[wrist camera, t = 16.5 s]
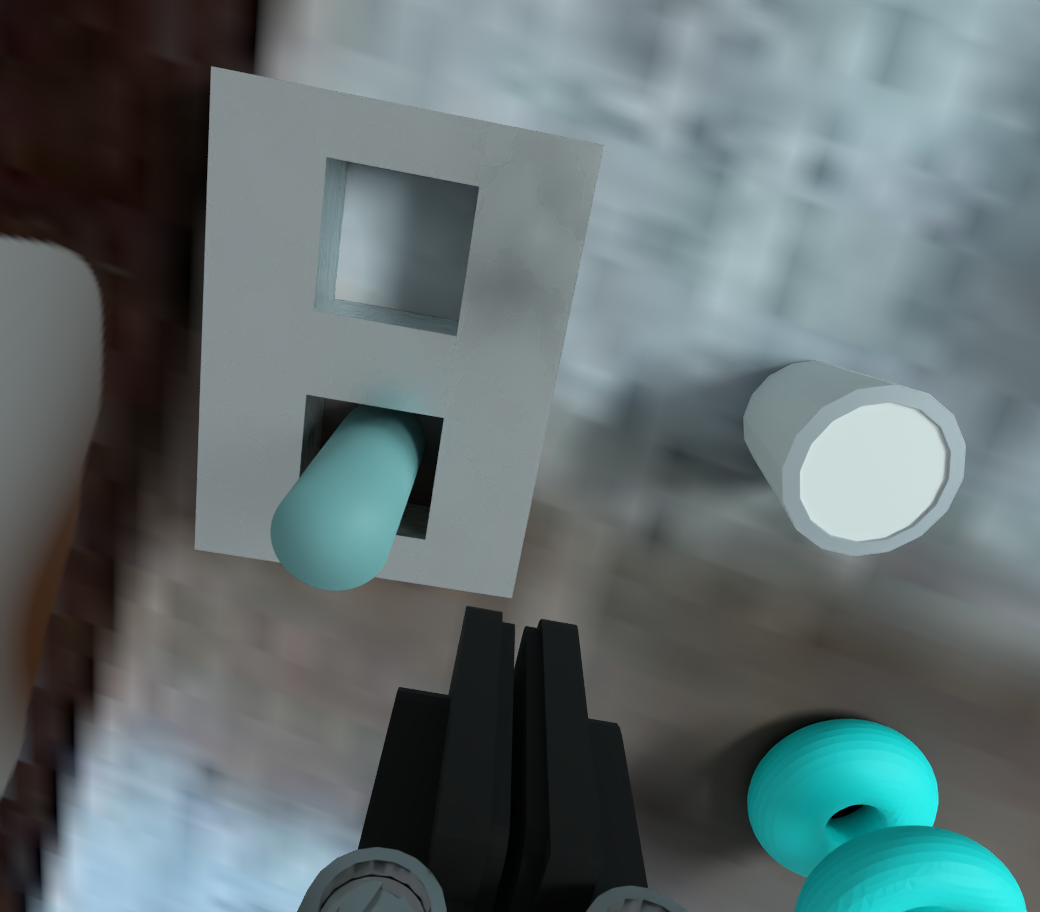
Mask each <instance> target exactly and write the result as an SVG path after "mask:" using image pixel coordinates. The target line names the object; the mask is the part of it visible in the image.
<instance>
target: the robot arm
mask: <svg viewBox="0 0 1040 912" xmlns="http://www.w3.org/2000/svg"><path fill="white" fill-rule="evenodd" d="M514 645H515V624H511V623H505V622H502V612H499V611H493V610H488V609H482V608H476V607H471V606H467V607H466V611H465V616H464V621H463V625H462V630H461V635H460V640H459V645H458V650H457V655H456V660H455V665H454V670H453V675H452V680H451V685H450V690H449V695H444V694H438V693H432V692H426V691H420V690H414V689H408V688H402V687H399V688H398V691H397V695H396V698H395V703H394V707H393V711H392V715H391V719H390V723H389V727H388V731H387V735H386V739H385V743H384V747H383V751H382V755H381V759H380V763H379V767H378V771H377V775H376V779H375V783H374V787H373V791H372V795H371V799H370V803H369V807H368V811H367V815H366V819H365V823H364V827H363V831H362V835H361V839H360V843H359V847H358V850H355V851H353V852H350V853H348V854H346V855H343V856H341V857H339V858H336V859H335V860H334V861H333V862H332V863H330V864H329V865H328V866H327V867H325V868H324V869H323V870H322V871H320V873H319V874H318V875H317V877H316V878H315V880H314V881H313V883H312V884H311V886H310V887H309V889H308V890H307V892H306V894H305V896H304V899H303V901H302V903H301V905H300V907H299V909H298V911H297V912H688V911H687V910H686V909H684V908H683V907H682V906H680V905H679V904H678V903H676V902H675V901H674V900H673V899H671V898H670V897H668V896H666V895H663V894H661V893H659V892H657V891H654V890H652V889H650V888H648V886H647V880H646V874H645V868H644V862H643V856H642V851H641V845H640V839H639V833H638V827H637V821H636V815H635V809H634V804H633V798H632V792H631V786H630V780H629V774H628V768H627V763H626V757H625V751H624V745H623V739H622V734H621V730H620V727H619V726H618V724H617V723H612V722H606V721H600V720H594V719H588V713H587V705H586V696H585V687H584V678H583V669H582V661H581V652H580V643H579V634H578V628H577V626H576V625H573V624H568V623H562V622H556V621H551V620H545V619H541V620H540V621H539V624H538V627H537V628H534V627H528V626H525V628H524V631H523V635H522V639H521V643H520V647H519V651H518V656H517V660H516V664H515V668H514Z"/></svg>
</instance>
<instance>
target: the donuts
mask: <svg viewBox="0 0 1040 912" xmlns="http://www.w3.org/2000/svg"><path fill="white" fill-rule="evenodd" d="M860 804H864V805H863V806H862V807H861V808H859V809H858V810H856V811H855V812H853V813H851V814H849V815H846V816H843V817H840V818H835V819H830V818H831V817H832V816H833V815H834V814H835V813H836V812H838V811H840V810H842V809H844V808H846V807H849V806H852V805H860ZM747 806H748V816H749V820H750V823H751V826H752V829H753V832H754V834H755V836H756V838H757V839H758V841H759V842H760V844H761V845H762V847H763V848H764V849H765V851H766V852H767V853H768V854H769V855H770V856H771V857H773V858H774V859H775V860H776V861H777V862H778V863H780V864H781V865H782V866H784V867H786V868H787V869H789V870H791V871H793V872H795V873H797V874H799V875H802V876H805V877H807V879H806V881H805V883H804V885H803V887H802V889H801V892H800V894H799V897H798V900H797V903H796V908H795V912H1026V905H1025V901H1024V898H1023V895H1022V893H1021V890H1020V888H1019V886H1018V884H1017V882H1016V880H1015V879H1014V877H1013V876H1012V874H1011V873H1010V871H1009V870H1008V869H1007V867H1006V866H1005V865H1004V864H1003V863H1002V862H1001V861H1000V860H999V859H998V858H997V857H996V856H995V855H994V854H993V853H991V852H990V851H989V850H988V849H986V848H985V847H983V846H982V845H980V844H978V843H977V842H975V841H973V840H971V839H970V838H968V837H965V836H963V835H960V834H958V833H955V832H952V831H948V830H945V829H941V828H937V827H932V826H933V824H934V821H935V817H936V813H937V808H938V789H937V782H936V778H935V775H934V773H933V770H932V768H931V766H930V764H929V762H928V760H927V759H926V757H925V756H924V755H923V753H922V752H921V751H920V750H919V748H918V747H917V746H916V745H915V744H914V743H913V742H911V741H910V740H909V739H907V738H906V737H905V736H903V735H902V734H901V733H899V732H897V731H895V730H894V729H891V728H889V727H887V726H884V725H881V724H879V723H875V722H871V721H867V720H860V719H835V720H828V721H823V722H819V723H815V724H812V725H809V726H806V727H804V728H801V729H799V730H797V731H795V732H793V733H792V734H790V735H788V736H787V737H785V738H784V739H782V740H781V741H780V742H778V743H777V744H776V745H775V746H774V747H773V748H772V749H770V750H769V752H768V753H767V754H766V755H765V756H764V757H763V759H762V760H761V761H760V763H759V764H758V766H757V768H756V770H755V772H754V774H753V776H752V779H751V782H750V786H749V790H748V796H747Z"/></svg>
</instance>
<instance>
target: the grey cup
mask: <svg viewBox="0 0 1040 912" xmlns="http://www.w3.org/2000/svg"><path fill="white" fill-rule="evenodd" d="M743 428H744V441H745V443H746V445H747V447H748V449H749V451H750V453H751V455H752V457H753V459H754V460H755V462H756V463H757V465H758V467H759V468H760V470H761V472H762V473H763V475H764V477H765V478H766V480H767V482H768V483H769V485H770V487H771V488H772V490H773V492H774V493H775V495H776V497H777V498H778V500H779V502H780V503H781V505H782V506H783V508H784V510H785V511H786V513H787V515H788V516H789V518H790V520H791V521H792V523H793V525H794V526H795V528H796V530H798V531H799V532H800V533H802V534H803V535H804V536H805V537H807V538H808V539H809V540H811V541H812V542H813V543H815V544H816V545H817V546H819V547H820V548H821V549H825V550H829V551H834V552H838V553H842V554H846V555H850V556H859V555H867V554H875V553H884V552H889V551H891V550H893V549H895V548H897V547H899V546H901V545H903V544H906V543H908V542H910V541H912V540H914V539H916V538H918V537H920V536H921V535H923V534H924V533H925V532H926V531H927V530H928V529H929V528H930V527H931V526H932V525H933V524H934V523H935V522H936V521H937V520H938V519H939V518H940V517H941V516H942V515H943V514H944V513H945V512H946V511H947V510H948V508H949V506H950V504H951V502H952V500H953V498H954V496H955V494H956V492H957V491H958V489H959V487H960V485H961V483H962V481H963V476H964V464H965V451H966V444H965V442H964V439H963V437H962V434H961V432H960V429H959V427H958V424H957V421H956V419H955V416H954V415H953V414H952V413H951V412H950V411H949V410H947V409H946V408H945V407H944V406H943V405H942V404H940V403H939V402H938V401H937V400H936V399H935V398H934V397H932V396H931V395H930V394H929V393H925V392H922V391H919V390H915V389H912V388H908V387H905V386H902V385H898V384H895V383H892V382H888V381H885V380H882V379H878V378H875V377H872V376H868V375H865V374H861V373H858V372H855V371H851V370H848V369H845V368H841V367H838V366H834V365H830V364H827V363H823V362H819V361H816V360H815V361H808V362H800V363H793V364H790V365H788V366H786V367H784V368H782V369H780V370H778V371H777V372H775V373H773V374H771V375H769V376H768V377H767V378H766V379H765V380H764V381H763V383H762V384H761V385H760V386H759V387H758V388H757V389H756V390H755V391H754V393H753V394H752V395H751V398H750V400H749V403H748V406H747V408H746V411H745V413H744V416H743Z"/></svg>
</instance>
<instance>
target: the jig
mask: <svg viewBox="0 0 1040 912" xmlns="http://www.w3.org/2000/svg"><path fill="white" fill-rule="evenodd" d="M603 147H604V145H602V144H597V143H592V142H587V141H582V140H577V139H572V138H567V137H562V136H557V135H552V134H547V133H542V132H537V131H532V130H527V129H522V128H517V127H512V126H507V125H502V124H497V123H492V122H487V121H482V120H477V119H472V118H467V117H462V116H457V115H452V114H447V113H442V112H437V111H432V110H427V109H422V108H417V107H412V106H407V105H402V104H397V103H392V102H387V101H382V100H377V99H372V98H367V97H362V96H357V95H352V94H347V93H342V92H337V91H332V90H327V89H322V88H317V87H312V86H307V85H302V84H297V83H292V82H287V81H282V80H277V79H272V78H267V77H262V76H257V75H252V74H247V73H242V72H237V71H232V70H227V69H222V68H217V67H212V66H211V86H210V115H209V144H208V174H207V203H206V232H205V261H204V290H203V320H202V349H201V378H200V407H199V436H198V465H197V495H196V524H195V549H196V550H202V551H209V552H215V553H222V554H228V555H235V556H241V557H248V558H254V559H261V560H267V561H274V562H280V561H279V560H278V558H277V556H276V554H275V552H274V549H273V546H272V543H271V536H270V529H271V522H272V518H273V515H274V513H275V511H276V509H277V507H278V506H279V504H280V503H281V502H282V500H283V499H284V498H285V496H286V495H287V494H288V492H289V491H290V490H291V488H292V487H293V486H294V484H295V483H296V482H297V481H298V479H299V478H300V477H301V475H302V474H303V473H304V471H305V470H306V469H307V467H308V466H309V465H310V463H311V462H312V461H313V459H314V458H315V457H316V455H317V454H318V453H319V452H320V446H321V435H322V424H323V414H324V403H325V398H330V399H335V400H341V401H347V402H353V403H359V404H365V405H371V406H377V407H382V408H388V409H394V410H400V411H406V412H412V413H418V414H423V415H429V416H435V417H441V418H444V421H443V428H442V434H441V441H440V448H439V454H438V461H437V467H436V474H435V480H434V487H433V493H432V500H431V506H430V507H429V506H423V505H417V504H411V503H407V504H406V507H405V510H404V512H403V515H402V518H401V521H400V524H399V527H398V530H397V533H396V536H395V538H394V541H393V544H392V547H391V550H390V553H389V556H388V558H387V561H386V563H385V565H384V566H383V568H382V569H381V570H380V572H379V573H378V574H377V575H376V576H375V577H378V578H384V579H391V580H397V581H404V582H410V583H417V584H423V585H430V586H436V587H443V588H449V589H456V590H462V591H469V592H475V593H482V594H488V595H495V596H501V597H508V598H512V595H513V590H514V585H515V580H516V575H517V570H518V565H519V560H520V555H521V550H522V545H523V541H524V536H525V531H526V526H527V521H528V516H529V511H530V506H531V501H532V496H533V491H534V486H535V482H536V477H537V472H538V467H539V462H540V457H541V452H542V447H543V442H544V437H545V432H546V428H547V423H548V418H549V413H550V408H551V403H552V398H553V393H554V388H555V383H556V378H557V373H558V369H559V364H560V359H561V354H562V349H563V344H564V339H565V334H566V329H567V324H568V319H569V314H570V310H571V305H572V300H573V295H574V290H575V285H576V280H577V275H578V270H579V265H580V260H581V256H582V251H583V246H584V241H585V236H586V231H587V226H588V221H589V216H590V211H591V206H592V201H593V197H594V192H595V187H596V182H597V177H598V172H599V167H600V162H601V157H602V152H603ZM347 162H353V163H358V164H363V165H368V166H373V167H378V168H384V169H389V170H394V171H399V172H404V173H409V174H414V175H420V176H425V177H430V178H435V179H440V180H445V181H451V182H456V183H461V184H466V185H471V186H476V187H479V192H478V199H477V206H476V212H475V219H474V225H473V232H472V238H471V245H470V251H469V258H468V264H467V271H466V278H465V284H464V291H463V297H462V304H461V310H460V317H459V321H455V320H450V319H444V318H438V317H433V316H427V315H422V314H416V313H411V312H405V311H400V310H394V309H389V308H383V307H377V306H372V305H366V304H361V303H355V302H350V301H344V300H339V299H334V297H335V287H336V276H337V265H338V255H339V244H340V234H341V223H342V212H343V202H344V191H345V181H346V170H347Z"/></svg>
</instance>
